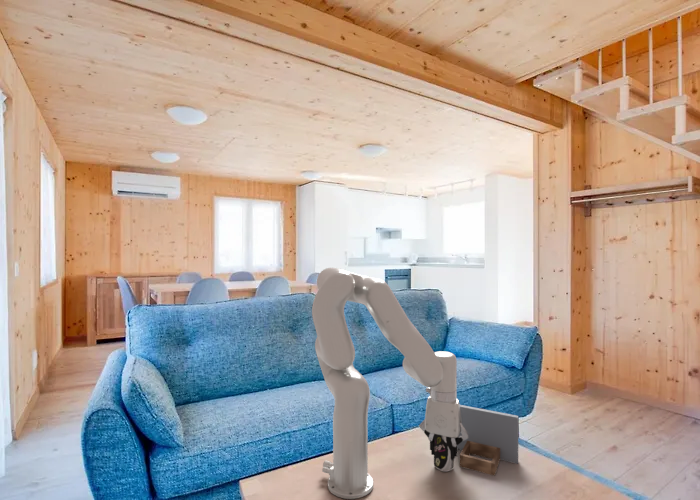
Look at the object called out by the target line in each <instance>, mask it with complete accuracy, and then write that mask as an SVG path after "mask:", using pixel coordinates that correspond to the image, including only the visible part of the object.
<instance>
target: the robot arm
mask: <svg viewBox="0 0 700 500" xmlns="http://www.w3.org/2000/svg"><path fill="white" fill-rule="evenodd" d="M316 286H317V289H318V290H317V292H316V294H315V296H314V299H313V302H312V307H311V309H312V310H311V315H312V321H313V325H314V328H315V331H316V339H315V342H314V348H315V349H314V350H315V355H316V356H317V361H318V363H319V364H318V365H319V368H320V369H321V373H322V375H323V379H324V382H325V384H326V386H327V388H328V390H329V391H330V393H331V394H332V396H333V398H334V406H333V407H334V408H333V414H332V415H333V416H332V441H333V442H332V448H333V449H332V450H333V451H332V454H333V455H332V458H333V459H332V462H331V461H329V460H326V459H325V460H324V461H323V464H322V469H321V471H322V473H325V474H328V475H329V477H328V479H327V489H328V491H329V492H330V493H331V494H332V495H334V496H335V497H338V498H341V499H347V500H354V499H360V498H363V497H365V496H367V495H368V494H370V493H371V491H372V490H373V489H374V480H373V477H372V476H371V475H370V473H368V471H369V469H368V468H369V467H368V463H369V462H368V454H369V453H368V448H369V447H368V445H369V444H368V443H369V442H368V440H369V439H368V438H369V437H368V434H369V433H368V414H369V413H368V412H369V404H370V398H371V396H370V395H371V390H370V385H369V383H368V380H367V379H366V377H364V375H362V373H360V372H359V370H358V369H356V368H355V367H354V361H355V359H356V358H355V357H356V350H355V345H354V342H353V340H352V337H351V333H350V330H349V328H348V324H347V321H346V317H345V307H346V304H347V301H348V302H352V303H355V304H356V303H357V304H362V305H364V306H365V307H366V309H367V310H368V312H369V313H370V315H371V316H372V318H373V320H374V322H375V323H376V325H377V327H378V328H379V331H380V332H381V333H382V335H383V336H384V337H385V338H386V340H387V341H388V342H389V343H390V344H391V345H392V346H394V347H395V349H397V350H398V351H399V352H400V353H401V354H402V355H403V357H404V358H403V360H402V368H403V371H404V372H405V373H406V374H407V375H408V376H409V377H411V378H412V379H413V380H415V381H417V382H418V383H420V385H422V386H424V387H426V389H425V392H426V393H427V394H429V396H428V397H427V400H426V406H425V414H424V415H425V416H424V420H422V422H420V424H419V425H418V426H419V428H420V429H421V431H422V432H423V433H424V434H425V436H426V437H427V439H428V441H429V450H430V451H431V452H430V453H431V455H432V456H434V434H437V435H442V436H446V437H450V438H451V442H452V446H451V460H454V461H455V458H456V457H457V456H458V449H457V445H458V444H460V443H461V442H462V441H464V440H466V439H467V438H468V437H469V434H468V432H467V431H466V430H465V428H464V427H463V425H462V421H461V410H460V405H461V404H460V402H459V399H458V398H457V393H458V392H457V389H458V388H457V386H458V385H457V382H458V381H457V367H458V366H457V357H456V355H455V354H454V353H453V352H450V351H442V350H439V351H434V350H433V348H432V347H431V345H430V344H429V343H428V341H427V340H426V339H425V337H424V336H423V335H422V334H421V333H420V331H419V330H418V329H417V328H416V326H415V325H414V324H413V322H412V321H411V320H410V319H409V318H408V315H407V313H406V312H405V310H404V309H403V307H402V305H401V304H400V303H399V301H398V299H397V297H396V295H395V294H394V292H393V290H392V289H391V287H390V286H389V284H388V283H387V282H386V281H385V280H384V279H381V278H376V277H372V276H368V275H363V274H362V275H361V274H359V273H358V274H357V273H354V272H351V271H348V270H345V269H342V268H337V267H326V268H325V269H322V270H321V271H320V272H319V273H318V276H317V278H316ZM460 432H461V433H462V436H459V433H460ZM458 436H459V437H458Z"/></svg>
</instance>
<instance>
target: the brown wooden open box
mask: <svg viewBox="0 0 700 500" xmlns="http://www.w3.org/2000/svg"><path fill="white" fill-rule="evenodd" d="M472 455H473V456H472ZM475 456H476V457H475ZM481 457H482V458H481ZM484 458H486V459H484ZM488 459H489V460H488ZM490 459H491V460H490ZM500 461H501V460H500V448H497V447H493V446H489V445H484V444H480V443H476V442H471V441H467V442H466V444H465V446H464V448H463V450H461V452H460V454H459V467H460V468H464V469H468V470H471V471H476V472H478V473H482V474H486V475H489V476H492V477H493V476H494V477H495V476H496V473H497V471H498V469H499V468H498V467H499V464H500Z"/></svg>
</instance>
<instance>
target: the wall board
mask: <svg viewBox="0 0 700 500" xmlns="http://www.w3.org/2000/svg"><path fill="white" fill-rule="evenodd" d="M459 405H460V410H461V421H462V425H463V427H464V428H465V430H466V431H467V432H468V434H469V437H468V438H467V439H466V440H464V441H462V442H461V443H460V444H458V445H457V450H460V451H462V450H463V448H464V446H465V444H466V442H467V441H471V442H476V443H480V444H484V445H489V446H493V447H497V448H500V461H505V462H508V463H512V462H513V463H512V464H516V465H517V464H519V415H515V414H511V413H510V414H509V413H507V412H505V413H504V412H501V411H500V412H499V411H495V410H490V409H485V408H481V407H480V408H478V407H473V406H468V405H465V404H464V405H463V404H459ZM459 436H462V433H461V432H460V433H459ZM459 436H458V437H459Z"/></svg>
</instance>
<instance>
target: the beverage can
mask: <svg viewBox="0 0 700 500" xmlns="http://www.w3.org/2000/svg"><path fill="white" fill-rule="evenodd" d="M451 446H452V442H451V438H450V437H446V436H442V435H437V434H434V455H433V466H434V467H435V468H436V469H437V470H439V471H441V472H450V471H452V470H453V469H454V466H455V465H454V463H455V462H454V461H455V459H454V460H451Z"/></svg>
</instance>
